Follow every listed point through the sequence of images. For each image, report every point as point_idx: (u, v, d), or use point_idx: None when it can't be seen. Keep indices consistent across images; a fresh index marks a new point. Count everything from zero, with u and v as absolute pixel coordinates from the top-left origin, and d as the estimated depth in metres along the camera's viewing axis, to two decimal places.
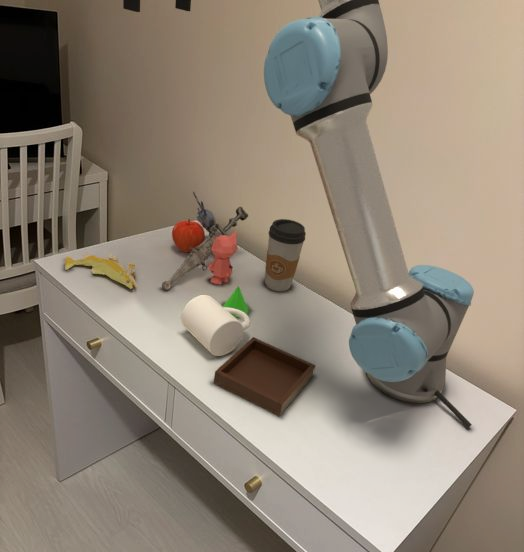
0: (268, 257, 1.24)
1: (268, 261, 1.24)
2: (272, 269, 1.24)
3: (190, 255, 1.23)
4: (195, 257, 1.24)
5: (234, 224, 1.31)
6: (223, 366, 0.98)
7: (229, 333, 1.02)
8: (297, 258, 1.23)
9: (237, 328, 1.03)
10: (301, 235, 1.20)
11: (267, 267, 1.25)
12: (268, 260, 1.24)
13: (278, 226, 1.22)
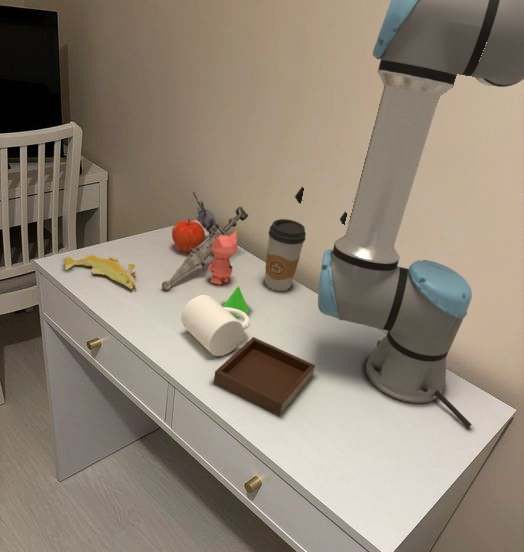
0: (268, 257, 1.24)
1: (268, 261, 1.24)
2: (272, 269, 1.24)
3: (190, 255, 1.23)
4: (195, 257, 1.24)
5: (234, 224, 1.31)
6: (223, 366, 0.98)
7: (229, 333, 1.02)
8: (297, 258, 1.23)
9: (237, 328, 1.03)
10: (301, 235, 1.20)
11: (267, 267, 1.25)
12: (268, 260, 1.24)
13: (278, 226, 1.22)
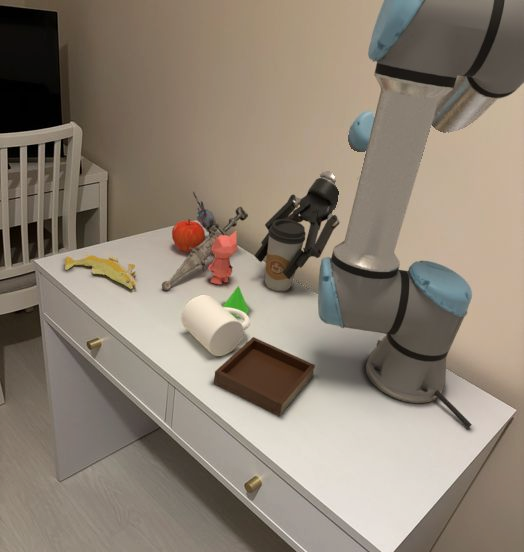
0: (268, 257, 1.24)
1: (268, 261, 1.24)
2: (272, 269, 1.24)
3: (190, 255, 1.23)
4: (195, 257, 1.24)
5: (234, 224, 1.31)
6: (223, 366, 0.98)
7: (229, 333, 1.02)
8: None
9: (237, 328, 1.03)
10: (301, 234, 1.20)
11: (267, 267, 1.25)
12: (268, 260, 1.24)
13: (278, 226, 1.22)
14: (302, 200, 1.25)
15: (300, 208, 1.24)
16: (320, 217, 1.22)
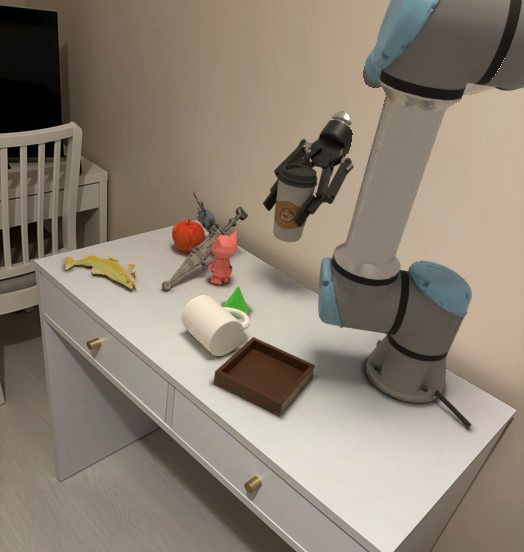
0: (277, 204, 1.16)
1: (277, 208, 1.17)
2: (281, 217, 1.17)
3: (190, 255, 1.23)
4: (195, 257, 1.24)
5: (234, 224, 1.31)
6: (223, 366, 0.98)
7: (229, 333, 1.02)
8: None
9: (237, 328, 1.03)
10: (313, 178, 1.12)
11: (276, 215, 1.18)
12: (277, 207, 1.16)
13: (288, 170, 1.15)
14: (313, 144, 1.18)
15: (311, 152, 1.17)
16: (333, 161, 1.15)
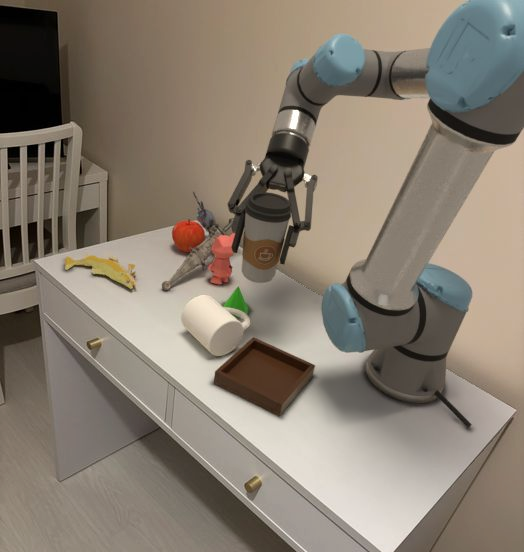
0: (252, 244, 0.98)
1: (252, 249, 0.98)
2: (259, 257, 0.99)
3: (190, 255, 1.23)
4: (195, 257, 1.24)
5: None
6: (223, 366, 0.98)
7: (229, 333, 1.02)
8: (284, 237, 1.00)
9: (237, 328, 1.03)
10: (289, 207, 0.96)
11: (250, 257, 0.99)
12: (252, 248, 0.98)
13: (255, 203, 0.96)
14: (263, 165, 1.01)
15: (267, 175, 0.99)
16: (296, 181, 1.00)
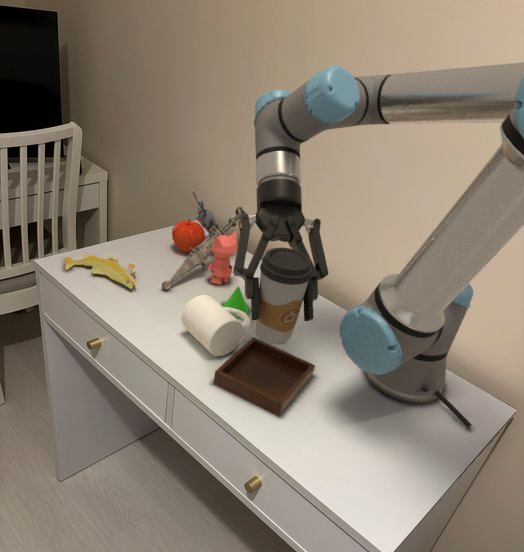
0: (276, 309, 0.88)
1: (276, 314, 0.88)
2: (284, 321, 0.89)
3: (190, 255, 1.23)
4: (195, 257, 1.24)
5: (234, 224, 1.31)
6: (223, 366, 0.98)
7: (229, 333, 1.02)
8: None
9: (237, 328, 1.03)
10: None
11: (274, 322, 0.89)
12: (276, 313, 0.88)
13: None
14: (261, 216, 0.89)
15: (270, 228, 0.89)
16: (299, 229, 0.91)
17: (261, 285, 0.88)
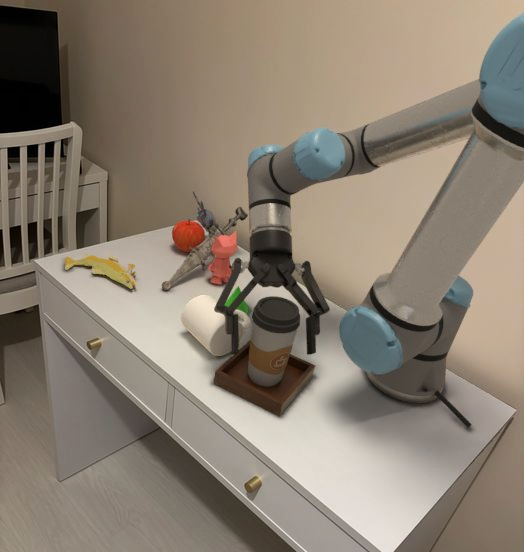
0: (267, 355, 0.93)
1: (267, 359, 0.94)
2: (274, 365, 0.95)
3: (190, 255, 1.23)
4: (195, 257, 1.24)
5: (234, 224, 1.31)
6: (223, 366, 0.98)
7: None
8: None
9: None
10: None
11: (265, 366, 0.95)
12: (267, 358, 0.94)
13: None
14: (253, 264, 0.95)
15: (260, 274, 0.94)
16: None
17: (253, 332, 0.93)
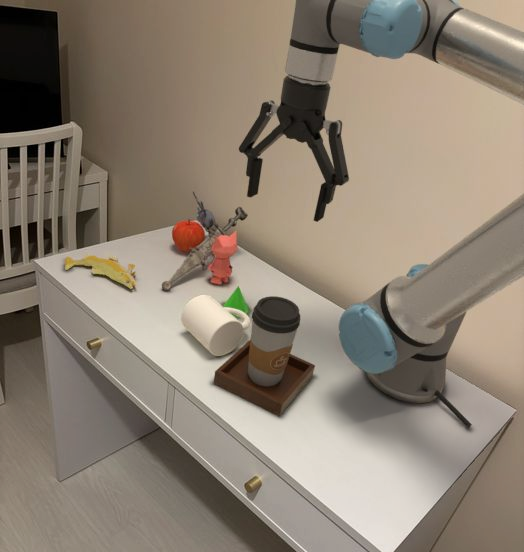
0: (267, 355, 0.93)
1: (267, 359, 0.94)
2: (274, 365, 0.95)
3: (190, 255, 1.23)
4: (195, 257, 1.24)
5: (234, 224, 1.31)
6: (223, 366, 0.98)
7: (229, 333, 1.02)
8: None
9: (237, 328, 1.03)
10: None
11: (265, 366, 0.95)
12: (267, 358, 0.94)
13: None
14: (279, 113, 0.90)
15: (280, 127, 0.90)
16: (313, 134, 0.89)
17: (253, 332, 0.93)
